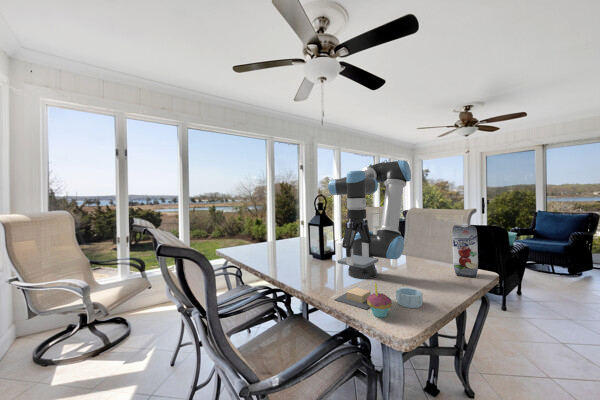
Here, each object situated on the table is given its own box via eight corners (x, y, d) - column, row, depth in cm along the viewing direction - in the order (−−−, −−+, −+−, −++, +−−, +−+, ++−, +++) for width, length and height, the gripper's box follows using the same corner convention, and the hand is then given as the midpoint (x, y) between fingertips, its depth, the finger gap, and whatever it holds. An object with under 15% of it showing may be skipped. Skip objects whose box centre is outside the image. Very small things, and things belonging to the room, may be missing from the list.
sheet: (337, 263, 102) (337, 260, 102) (352, 257, 111) (352, 254, 111) (364, 268, 94) (364, 265, 94) (378, 261, 103) (378, 258, 103)
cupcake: (382, 322, 83) (381, 286, 83) (362, 313, 90) (361, 280, 90) (397, 315, 88) (396, 281, 88) (377, 307, 95) (376, 275, 95)
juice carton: (452, 271, 137) (451, 222, 137) (476, 273, 132) (475, 222, 132) (454, 276, 129) (453, 223, 129) (478, 278, 125) (477, 224, 124)
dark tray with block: (334, 300, 102) (334, 292, 102) (352, 290, 113) (352, 283, 112) (366, 309, 93) (365, 301, 93) (382, 298, 103) (382, 290, 103)
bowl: (393, 303, 98) (392, 292, 97) (401, 296, 104) (401, 286, 104) (417, 310, 91) (417, 298, 91) (425, 302, 98) (424, 291, 98)
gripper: (348, 210, 91) (350, 270, 91) (378, 207, 109) (379, 256, 109) (331, 210, 96) (333, 266, 96) (362, 207, 114) (364, 254, 114)
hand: (358, 261), depth 103 cm, fingers closed on sheet, 12 cm apart
